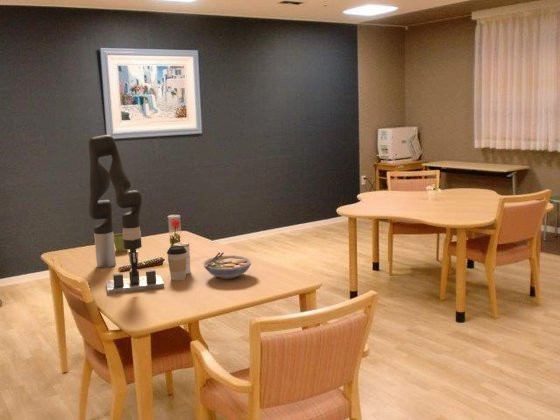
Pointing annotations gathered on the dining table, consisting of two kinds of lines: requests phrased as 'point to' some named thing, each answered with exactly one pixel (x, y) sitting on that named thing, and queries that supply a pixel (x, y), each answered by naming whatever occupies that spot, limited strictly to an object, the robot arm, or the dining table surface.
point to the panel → (134, 285)
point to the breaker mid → (133, 279)
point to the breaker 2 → (150, 276)
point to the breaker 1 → (118, 279)
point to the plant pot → (119, 242)
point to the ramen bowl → (227, 265)
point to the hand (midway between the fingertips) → (134, 276)
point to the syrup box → (186, 246)
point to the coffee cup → (177, 262)
